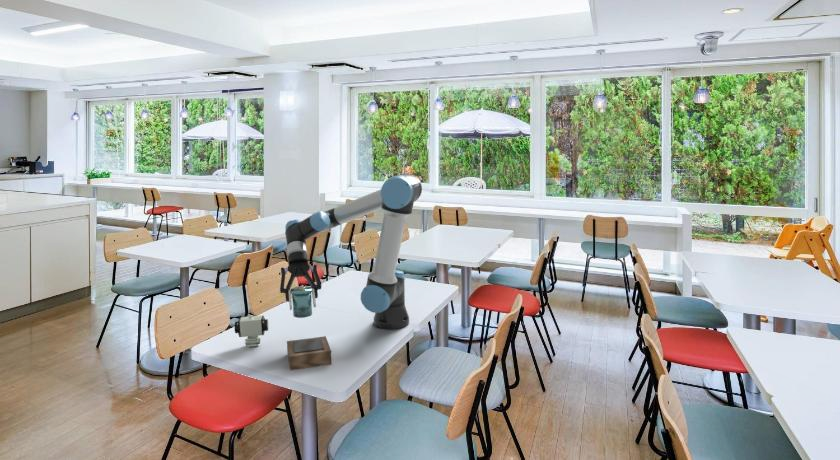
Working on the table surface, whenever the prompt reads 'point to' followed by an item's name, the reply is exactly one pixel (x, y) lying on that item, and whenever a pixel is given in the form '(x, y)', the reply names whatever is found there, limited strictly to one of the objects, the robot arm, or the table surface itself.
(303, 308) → the teal glass jar
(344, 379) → the table surface
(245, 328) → the pneumatic valve
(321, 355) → the walnut stand
